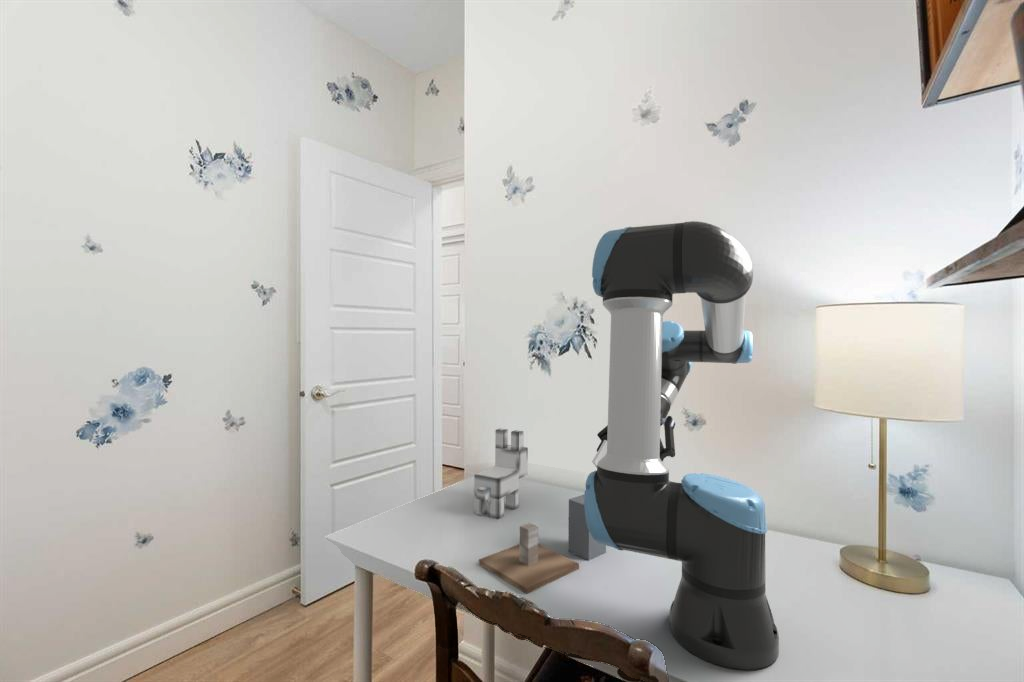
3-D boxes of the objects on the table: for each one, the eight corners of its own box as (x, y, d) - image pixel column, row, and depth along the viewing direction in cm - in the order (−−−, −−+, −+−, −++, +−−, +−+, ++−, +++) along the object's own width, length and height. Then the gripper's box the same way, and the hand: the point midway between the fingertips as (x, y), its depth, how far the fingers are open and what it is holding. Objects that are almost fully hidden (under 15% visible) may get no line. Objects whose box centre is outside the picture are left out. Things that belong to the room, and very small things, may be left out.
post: (578, 568, 91) (579, 528, 91) (526, 593, 82) (526, 548, 82) (530, 544, 101) (530, 508, 101) (479, 564, 92) (479, 524, 92)
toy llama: (468, 516, 117) (469, 437, 117) (504, 496, 132) (504, 426, 132) (493, 522, 113) (493, 441, 113) (527, 501, 128) (527, 429, 128)
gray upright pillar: (605, 552, 98) (606, 500, 98) (588, 560, 94) (589, 506, 94) (585, 543, 102) (585, 493, 102) (568, 550, 98) (568, 499, 98)
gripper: (710, 416, 107) (675, 495, 97) (621, 404, 126) (584, 469, 116) (699, 395, 104) (661, 475, 94) (609, 386, 123) (570, 451, 113)
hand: (619, 472), depth 105 cm, fingers open, 13 cm apart
